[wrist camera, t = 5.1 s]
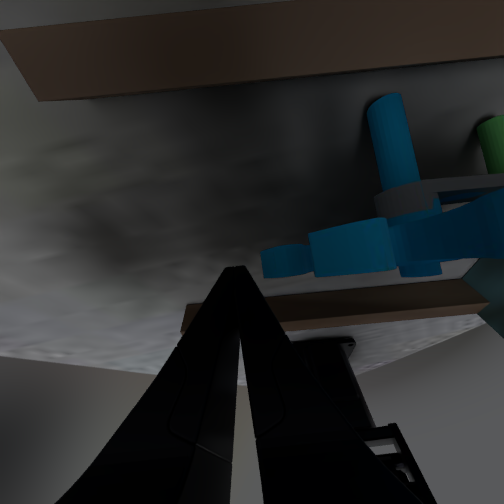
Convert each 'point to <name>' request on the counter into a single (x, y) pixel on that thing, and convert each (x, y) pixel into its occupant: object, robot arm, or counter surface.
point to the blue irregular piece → (408, 212)
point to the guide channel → (280, 68)
